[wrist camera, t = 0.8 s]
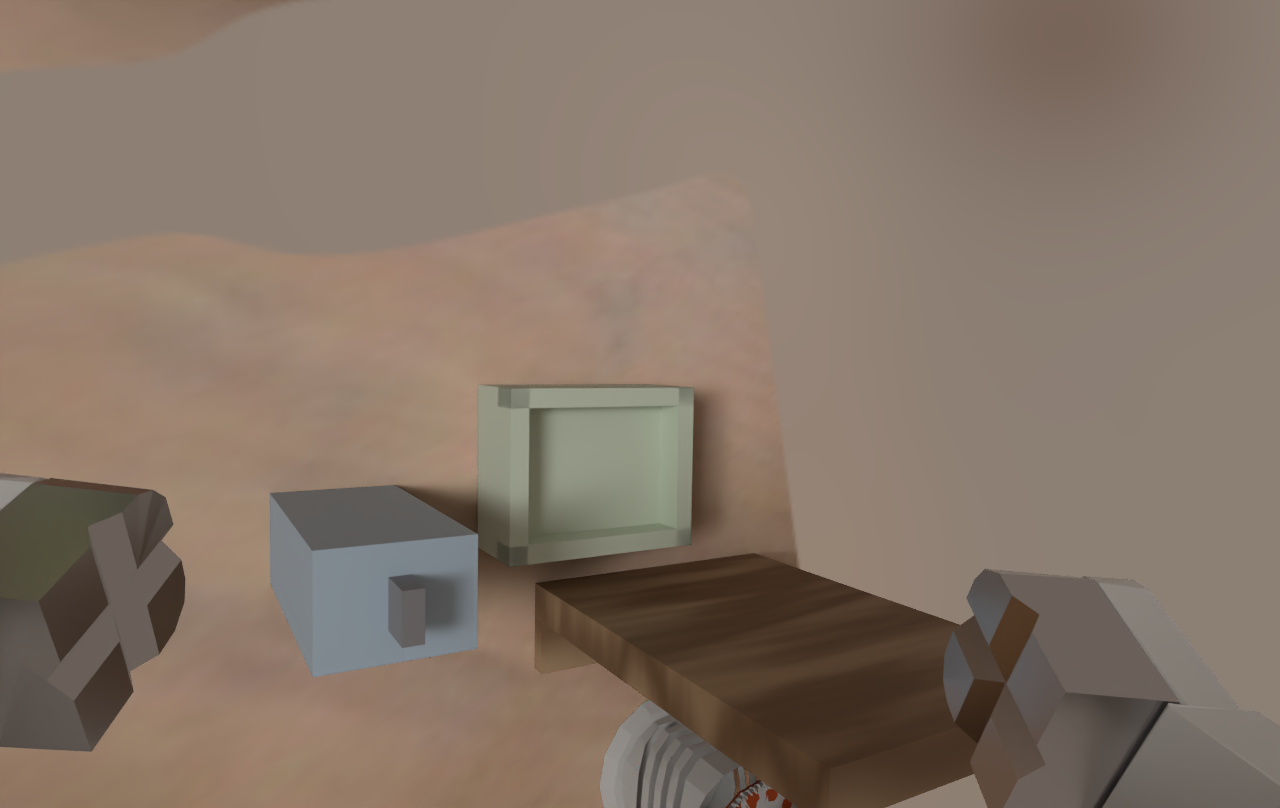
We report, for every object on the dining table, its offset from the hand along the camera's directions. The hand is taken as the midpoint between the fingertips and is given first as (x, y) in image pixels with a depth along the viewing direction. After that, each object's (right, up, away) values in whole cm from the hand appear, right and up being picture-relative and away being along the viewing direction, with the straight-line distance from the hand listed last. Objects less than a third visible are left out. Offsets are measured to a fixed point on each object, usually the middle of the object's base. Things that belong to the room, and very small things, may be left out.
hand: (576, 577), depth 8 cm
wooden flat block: (+1, -11, +43) cm, 44 cm away
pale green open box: (-4, -2, +39) cm, 39 cm away
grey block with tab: (-15, -5, +33) cm, 36 cm away
